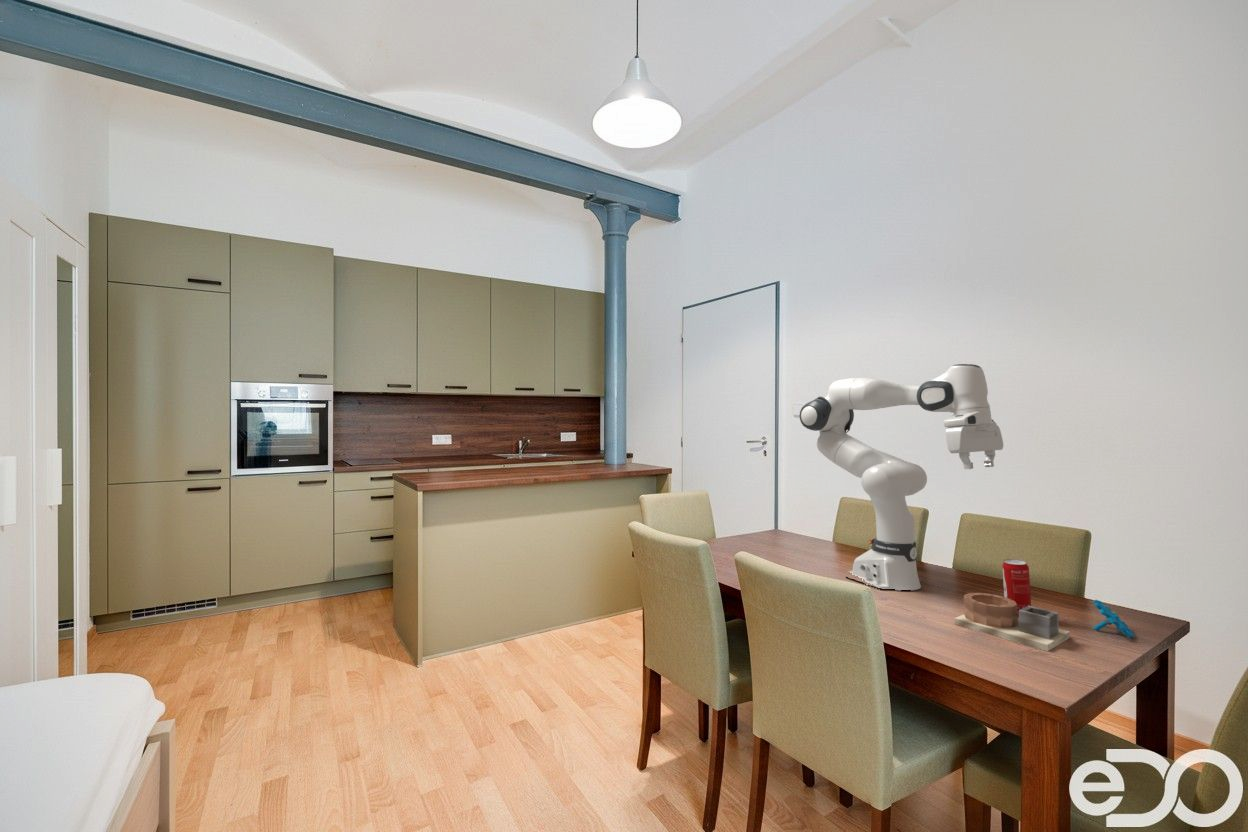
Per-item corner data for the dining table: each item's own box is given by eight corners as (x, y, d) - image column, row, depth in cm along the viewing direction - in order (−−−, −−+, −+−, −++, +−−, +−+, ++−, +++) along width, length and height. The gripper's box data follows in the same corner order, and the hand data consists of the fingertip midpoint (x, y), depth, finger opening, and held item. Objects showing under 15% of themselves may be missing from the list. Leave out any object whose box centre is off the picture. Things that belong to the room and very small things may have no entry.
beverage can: (1035, 617, 144) (1034, 561, 144) (1025, 623, 140) (1024, 565, 140) (1009, 611, 149) (1008, 556, 149) (999, 616, 145) (998, 560, 145)
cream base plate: (954, 624, 140) (954, 598, 140) (978, 613, 147) (978, 589, 148) (1047, 651, 123) (1047, 622, 123) (1069, 637, 131) (1069, 610, 131)
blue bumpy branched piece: (1135, 638, 126) (1095, 599, 132) (1111, 651, 129) (1073, 612, 135) (1139, 631, 134) (1102, 596, 140) (1116, 644, 137) (1080, 608, 142)
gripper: (983, 419, 161) (990, 466, 160) (939, 421, 153) (945, 470, 151) (1006, 417, 156) (1012, 465, 154) (961, 418, 147) (968, 469, 146)
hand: (979, 468), depth 153 cm, fingers open, 8 cm apart
